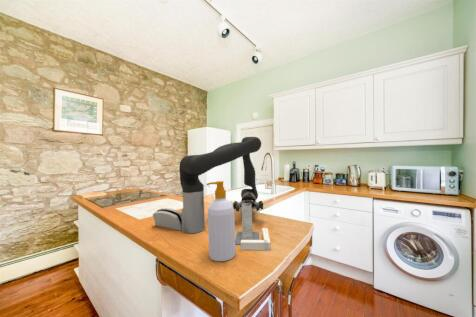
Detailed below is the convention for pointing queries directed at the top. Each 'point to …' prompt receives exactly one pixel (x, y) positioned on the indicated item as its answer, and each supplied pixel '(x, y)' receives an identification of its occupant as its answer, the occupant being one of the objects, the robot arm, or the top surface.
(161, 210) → the grey rounded block
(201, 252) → the top surface
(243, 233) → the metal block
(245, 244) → the corner piece
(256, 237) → the pad
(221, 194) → the soap bottle
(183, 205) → the robot arm
